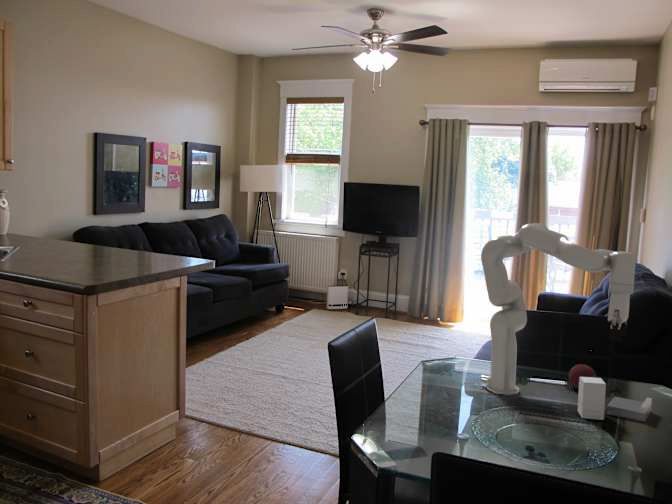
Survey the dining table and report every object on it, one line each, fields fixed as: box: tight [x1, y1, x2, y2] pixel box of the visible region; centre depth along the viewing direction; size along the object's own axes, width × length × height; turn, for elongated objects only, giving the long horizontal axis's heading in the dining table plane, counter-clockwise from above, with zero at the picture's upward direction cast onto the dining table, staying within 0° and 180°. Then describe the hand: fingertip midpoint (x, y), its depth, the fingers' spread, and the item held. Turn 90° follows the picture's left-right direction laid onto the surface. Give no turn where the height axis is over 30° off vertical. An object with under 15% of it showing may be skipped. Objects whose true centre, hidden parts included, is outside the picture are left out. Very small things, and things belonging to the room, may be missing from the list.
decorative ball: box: [568, 363, 597, 390], centre depth 233 cm, size 10×10×10 cm
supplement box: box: [577, 377, 607, 421], centre depth 205 cm, size 7×7×13 cm
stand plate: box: [605, 396, 652, 423], centre depth 208 cm, size 12×12×5 cm
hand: (618, 337), depth 202 cm, fingers open, 9 cm apart
